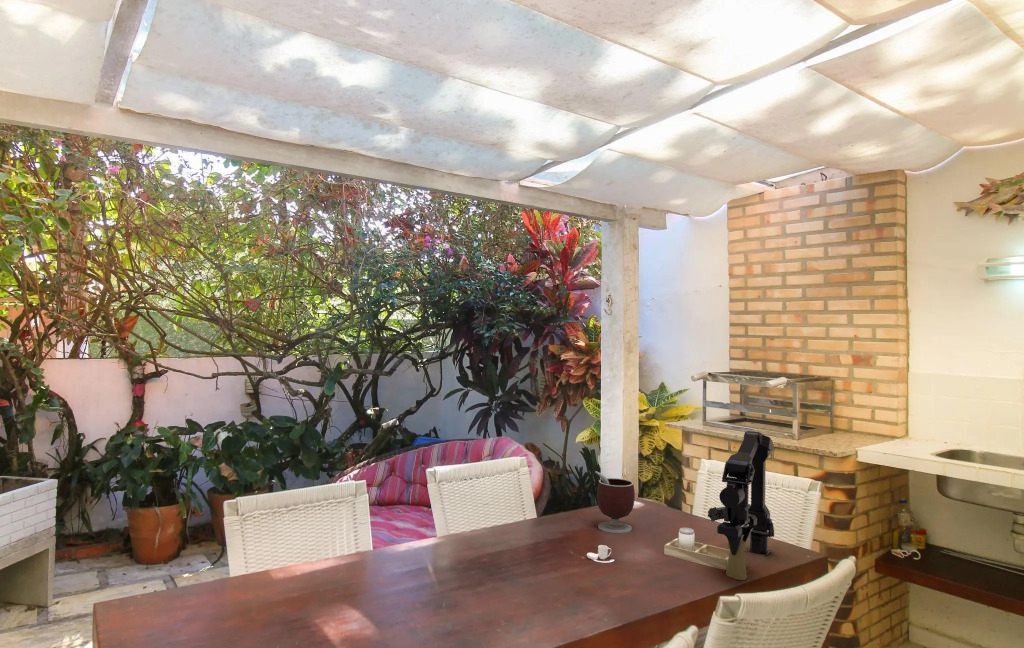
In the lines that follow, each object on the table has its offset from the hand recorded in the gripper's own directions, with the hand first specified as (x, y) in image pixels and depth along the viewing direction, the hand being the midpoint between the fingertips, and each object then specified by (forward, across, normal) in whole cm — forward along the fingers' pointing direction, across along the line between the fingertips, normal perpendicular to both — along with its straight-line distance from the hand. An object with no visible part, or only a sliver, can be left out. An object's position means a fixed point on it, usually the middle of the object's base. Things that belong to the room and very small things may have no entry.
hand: (736, 552), depth 193 cm
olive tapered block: (+7, 0, 0) cm, 7 cm away
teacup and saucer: (+8, +12, -41) cm, 44 cm away
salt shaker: (+7, -8, -19) cm, 21 cm away
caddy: (+7, -8, -14) cm, 17 cm away
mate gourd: (+8, -18, -52) cm, 56 cm away
